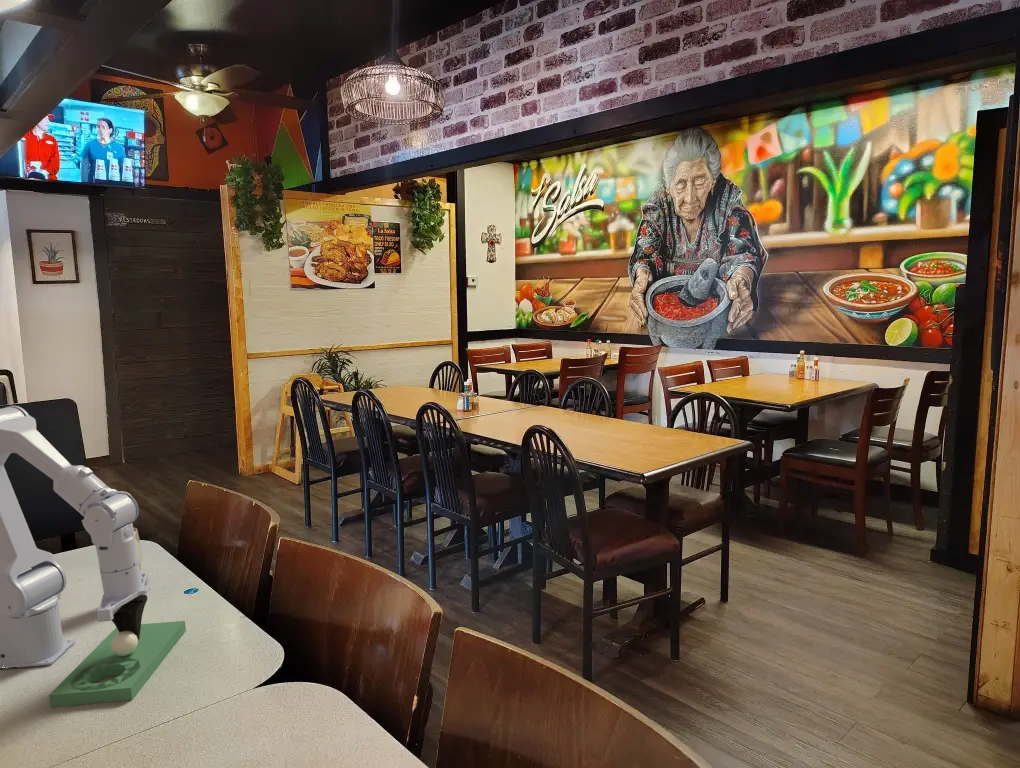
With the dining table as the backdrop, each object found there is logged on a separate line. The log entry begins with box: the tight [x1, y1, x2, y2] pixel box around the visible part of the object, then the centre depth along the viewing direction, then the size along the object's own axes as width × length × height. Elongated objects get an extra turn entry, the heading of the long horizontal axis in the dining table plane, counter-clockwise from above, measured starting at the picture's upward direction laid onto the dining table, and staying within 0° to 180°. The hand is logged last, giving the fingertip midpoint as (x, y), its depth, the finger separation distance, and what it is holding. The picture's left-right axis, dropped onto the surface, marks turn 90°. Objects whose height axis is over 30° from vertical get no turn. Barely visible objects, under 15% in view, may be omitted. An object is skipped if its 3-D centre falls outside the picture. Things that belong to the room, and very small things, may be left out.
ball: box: [111, 631, 138, 656], centre depth 116 cm, size 4×4×4 cm
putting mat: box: [48, 620, 187, 708], centre depth 116 cm, size 12×22×2 cm, turn 5°
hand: (131, 641), depth 117 cm, fingers closed, pressing on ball
